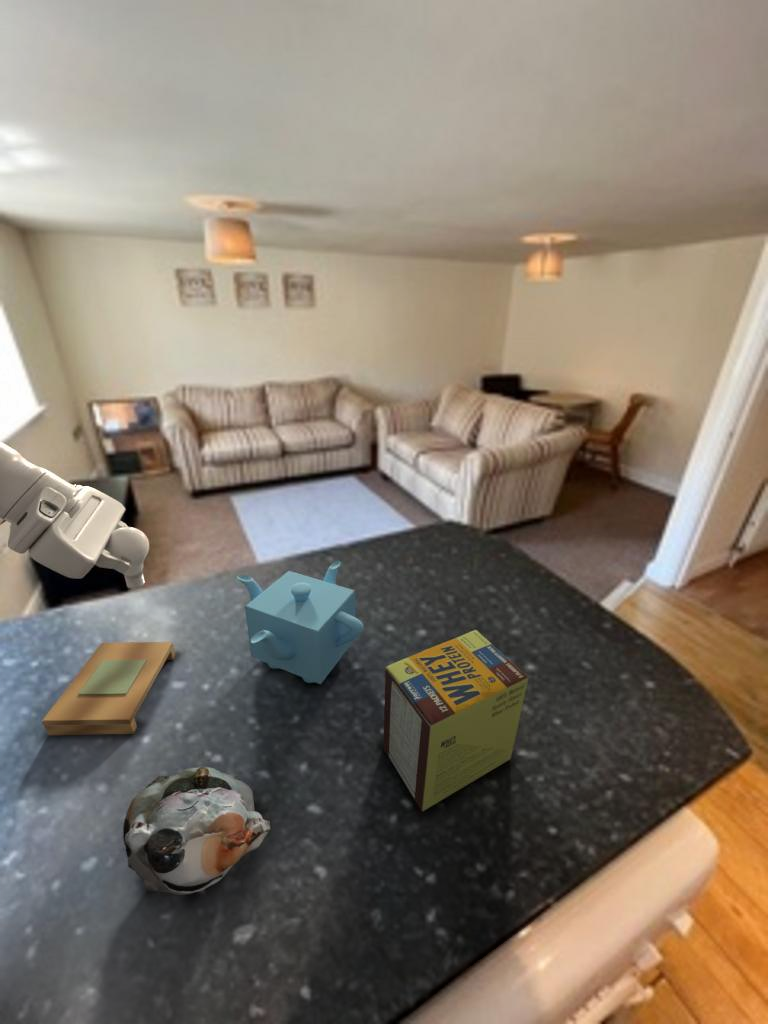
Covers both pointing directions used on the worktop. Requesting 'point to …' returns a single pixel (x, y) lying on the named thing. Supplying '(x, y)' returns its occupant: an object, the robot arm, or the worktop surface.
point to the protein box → (451, 715)
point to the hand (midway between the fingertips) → (133, 555)
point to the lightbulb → (130, 552)
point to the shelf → (109, 689)
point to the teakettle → (301, 623)
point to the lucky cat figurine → (191, 829)
